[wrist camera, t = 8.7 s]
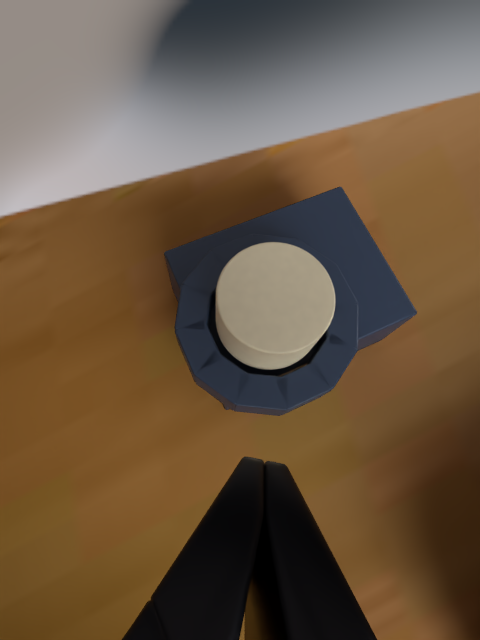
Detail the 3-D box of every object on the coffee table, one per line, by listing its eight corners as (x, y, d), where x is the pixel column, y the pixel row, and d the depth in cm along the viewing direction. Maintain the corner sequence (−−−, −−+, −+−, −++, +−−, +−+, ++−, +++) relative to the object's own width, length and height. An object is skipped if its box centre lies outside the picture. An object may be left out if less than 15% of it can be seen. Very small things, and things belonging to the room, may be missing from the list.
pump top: (241, 387, 16) (246, 373, 13) (199, 294, 17) (196, 265, 14) (336, 345, 17) (357, 324, 14) (290, 258, 18) (302, 225, 15)
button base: (219, 447, 20) (221, 441, 15) (155, 294, 23) (135, 238, 17) (396, 364, 22) (459, 330, 17) (320, 230, 24) (352, 159, 19)
